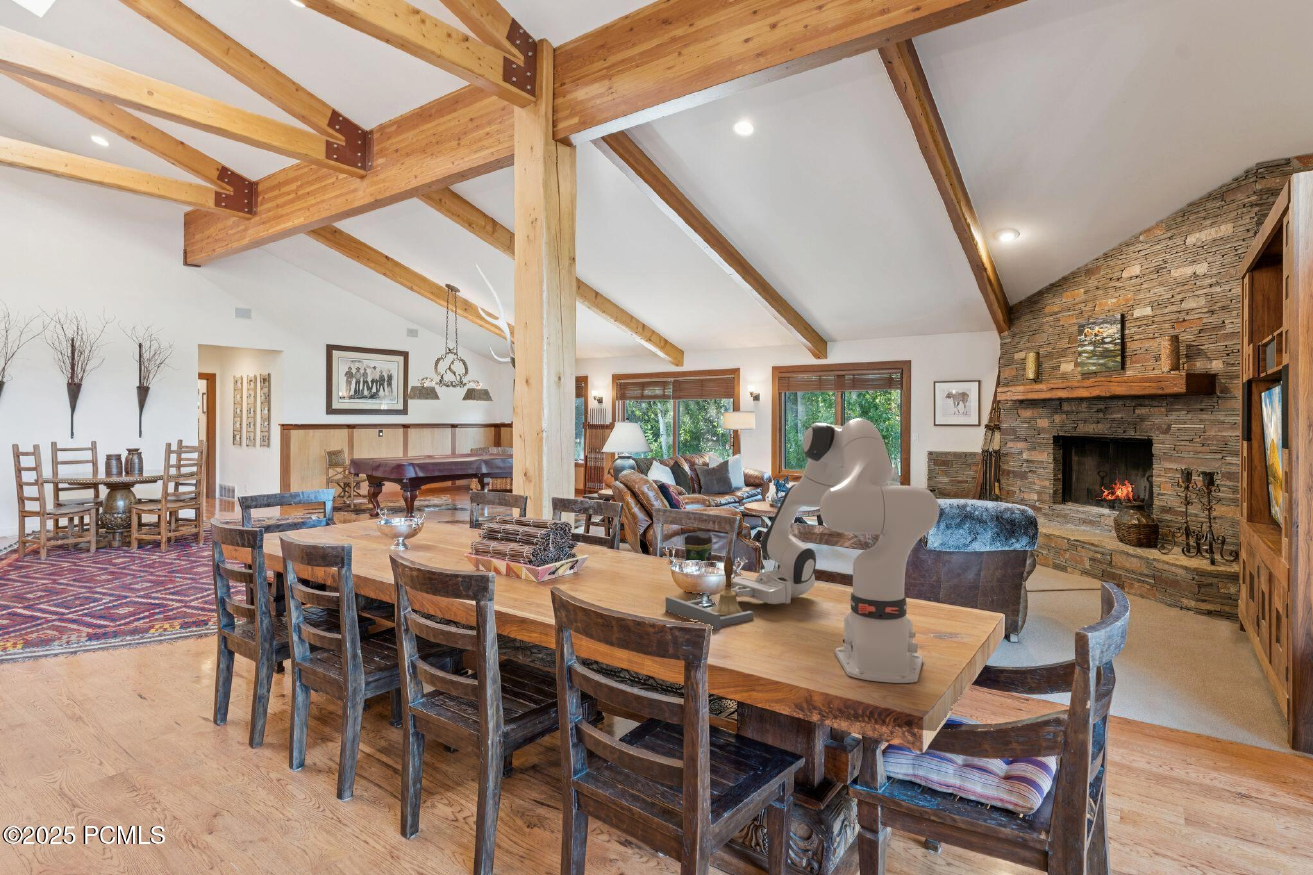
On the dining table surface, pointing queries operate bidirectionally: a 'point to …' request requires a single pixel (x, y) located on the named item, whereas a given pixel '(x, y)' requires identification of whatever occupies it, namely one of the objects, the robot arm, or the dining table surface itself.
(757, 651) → the dining table surface
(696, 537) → the coffee jar
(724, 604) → the hand bell
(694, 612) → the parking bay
